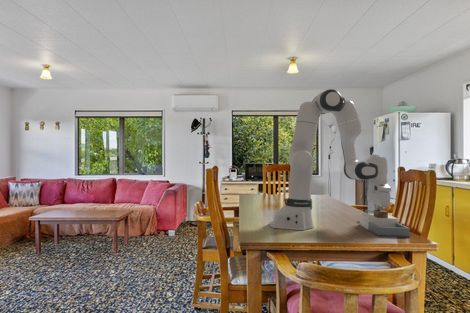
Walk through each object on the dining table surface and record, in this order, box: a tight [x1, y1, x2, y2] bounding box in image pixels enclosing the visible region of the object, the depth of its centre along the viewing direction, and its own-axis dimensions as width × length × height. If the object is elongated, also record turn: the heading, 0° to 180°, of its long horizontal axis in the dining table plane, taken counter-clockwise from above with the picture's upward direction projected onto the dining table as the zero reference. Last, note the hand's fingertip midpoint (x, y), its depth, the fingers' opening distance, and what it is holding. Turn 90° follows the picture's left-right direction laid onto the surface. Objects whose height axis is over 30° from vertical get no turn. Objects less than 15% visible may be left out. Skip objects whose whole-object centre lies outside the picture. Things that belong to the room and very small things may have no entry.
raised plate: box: [359, 212, 399, 231], centre depth 160 cm, size 14×12×6 cm
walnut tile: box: [374, 210, 389, 218], centre depth 157 cm, size 5×5×3 cm
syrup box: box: [367, 201, 384, 214], centre depth 179 cm, size 6×6×14 cm
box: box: [368, 222, 411, 238], centre depth 148 cm, size 14×12×4 cm
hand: (377, 213), depth 161 cm, fingers closed
